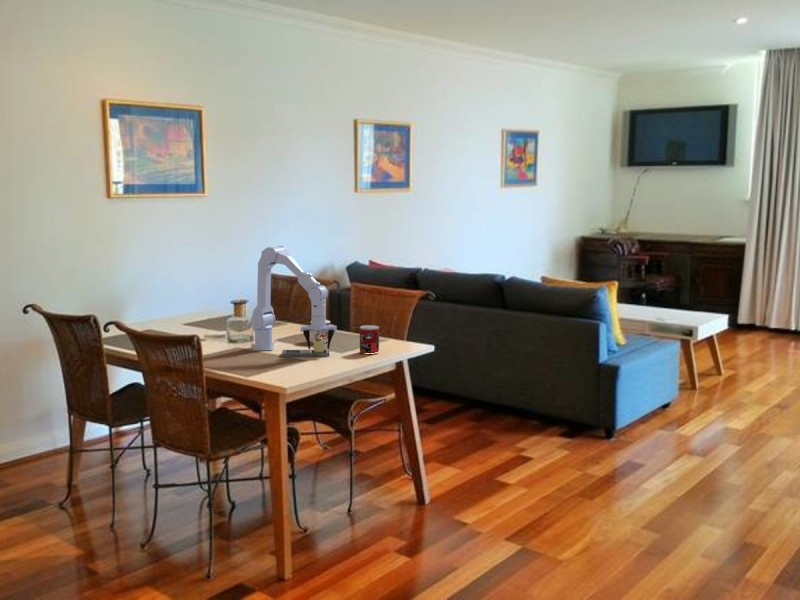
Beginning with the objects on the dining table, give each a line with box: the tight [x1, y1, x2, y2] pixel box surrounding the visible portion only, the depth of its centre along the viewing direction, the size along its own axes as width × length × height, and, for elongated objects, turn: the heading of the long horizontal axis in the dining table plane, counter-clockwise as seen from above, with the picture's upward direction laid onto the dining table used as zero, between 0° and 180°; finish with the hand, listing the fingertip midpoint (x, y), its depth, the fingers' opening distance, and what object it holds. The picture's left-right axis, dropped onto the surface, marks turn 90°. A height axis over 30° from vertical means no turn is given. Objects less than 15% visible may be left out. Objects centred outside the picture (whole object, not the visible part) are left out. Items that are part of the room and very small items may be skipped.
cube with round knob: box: [313, 338, 325, 353], centre depth 319 cm, size 4×4×7 cm
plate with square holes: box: [281, 348, 330, 358], centre depth 319 cm, size 7×19×2 cm, turn 95°
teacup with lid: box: [309, 319, 337, 344], centre depth 347 cm, size 12×9×12 cm
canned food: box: [359, 324, 380, 354], centre depth 324 cm, size 8×8×11 cm
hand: (318, 348), depth 320 cm, fingers open, 7 cm apart
